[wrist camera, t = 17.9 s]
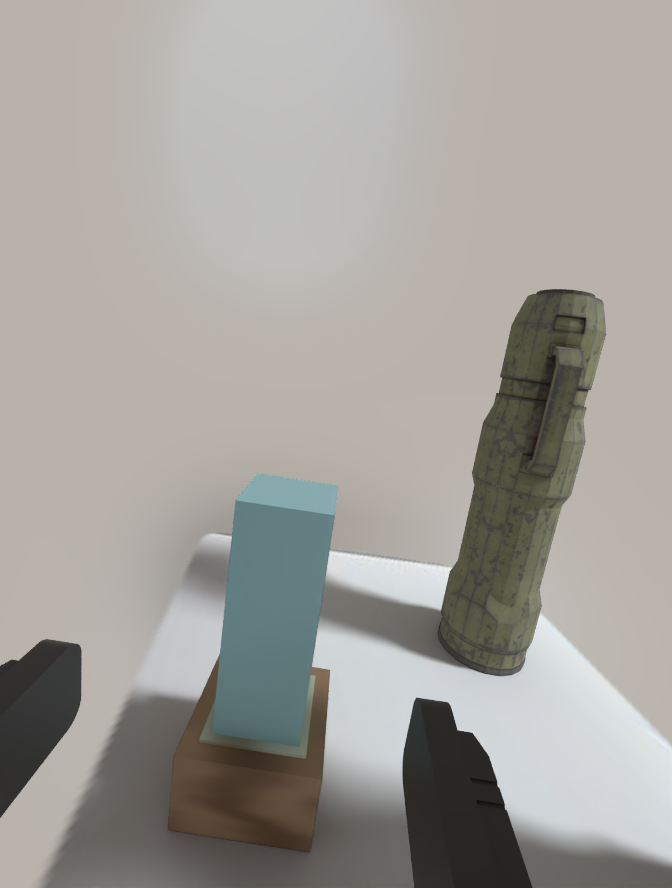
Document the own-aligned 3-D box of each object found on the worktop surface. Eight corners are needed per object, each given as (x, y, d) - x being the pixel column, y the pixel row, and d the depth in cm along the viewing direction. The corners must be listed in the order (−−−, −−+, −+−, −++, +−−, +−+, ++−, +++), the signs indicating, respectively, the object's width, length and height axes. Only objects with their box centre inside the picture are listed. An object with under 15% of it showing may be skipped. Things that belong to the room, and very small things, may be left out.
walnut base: (320, 727, 31) (330, 667, 30) (309, 852, 23) (322, 776, 22) (214, 711, 31) (220, 650, 30) (167, 829, 23) (174, 752, 22)
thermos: (449, 680, 38) (543, 273, 31) (428, 605, 49) (493, 297, 42) (547, 697, 37) (665, 290, 30) (503, 617, 49) (581, 310, 42)
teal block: (308, 680, 28) (337, 485, 26) (299, 746, 24) (334, 515, 21) (235, 669, 28) (257, 473, 26) (211, 733, 24) (235, 500, 21)
